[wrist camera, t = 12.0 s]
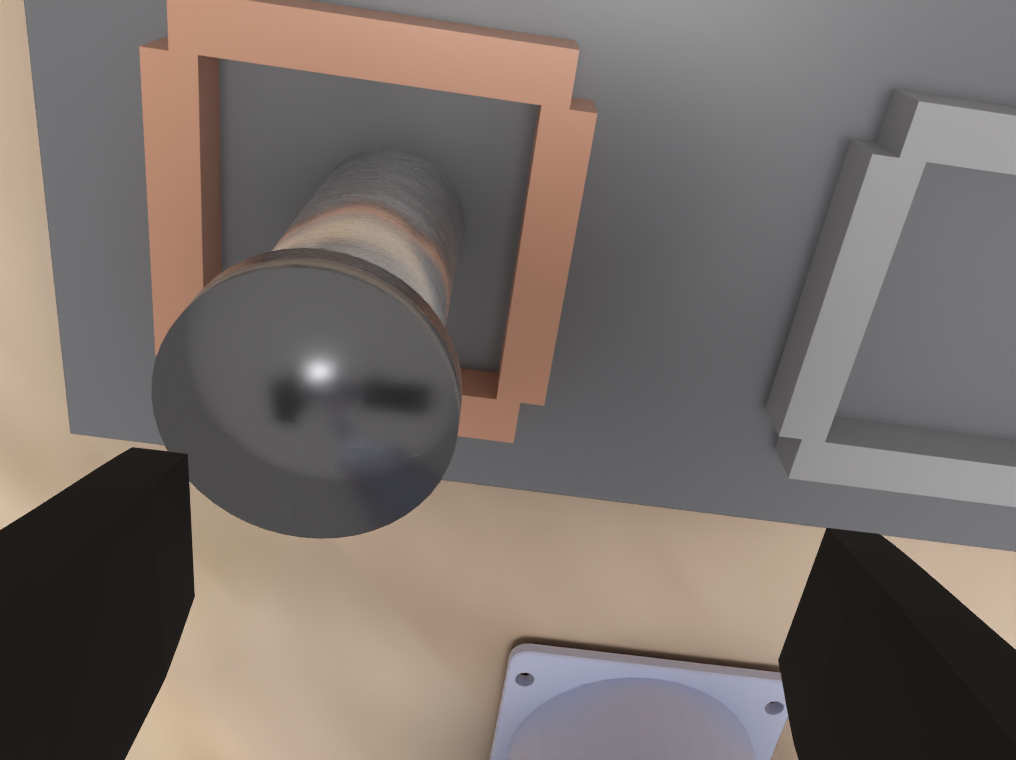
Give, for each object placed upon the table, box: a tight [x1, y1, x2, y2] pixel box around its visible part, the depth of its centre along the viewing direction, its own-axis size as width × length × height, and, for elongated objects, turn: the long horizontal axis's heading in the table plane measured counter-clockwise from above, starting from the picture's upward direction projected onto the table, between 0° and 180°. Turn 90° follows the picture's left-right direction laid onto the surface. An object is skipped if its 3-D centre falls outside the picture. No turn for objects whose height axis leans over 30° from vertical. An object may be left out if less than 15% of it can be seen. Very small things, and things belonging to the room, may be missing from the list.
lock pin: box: [151, 149, 463, 539], centre depth 15 cm, size 4×4×8 cm
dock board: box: [24, 0, 1016, 552], centre depth 18 cm, size 12×26×2 cm, turn 82°
